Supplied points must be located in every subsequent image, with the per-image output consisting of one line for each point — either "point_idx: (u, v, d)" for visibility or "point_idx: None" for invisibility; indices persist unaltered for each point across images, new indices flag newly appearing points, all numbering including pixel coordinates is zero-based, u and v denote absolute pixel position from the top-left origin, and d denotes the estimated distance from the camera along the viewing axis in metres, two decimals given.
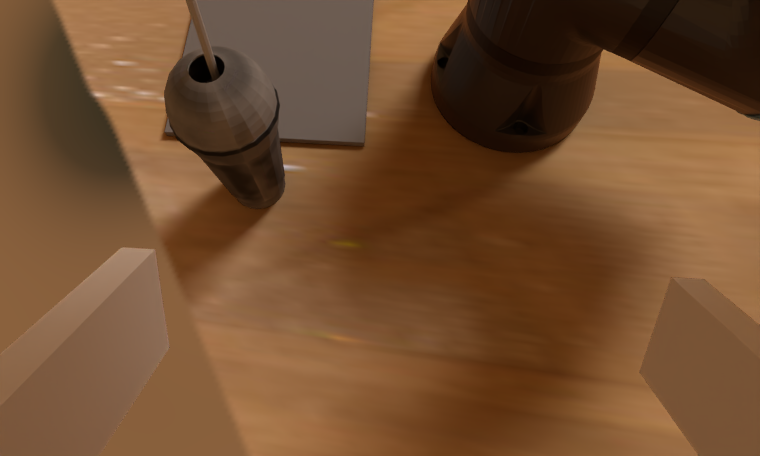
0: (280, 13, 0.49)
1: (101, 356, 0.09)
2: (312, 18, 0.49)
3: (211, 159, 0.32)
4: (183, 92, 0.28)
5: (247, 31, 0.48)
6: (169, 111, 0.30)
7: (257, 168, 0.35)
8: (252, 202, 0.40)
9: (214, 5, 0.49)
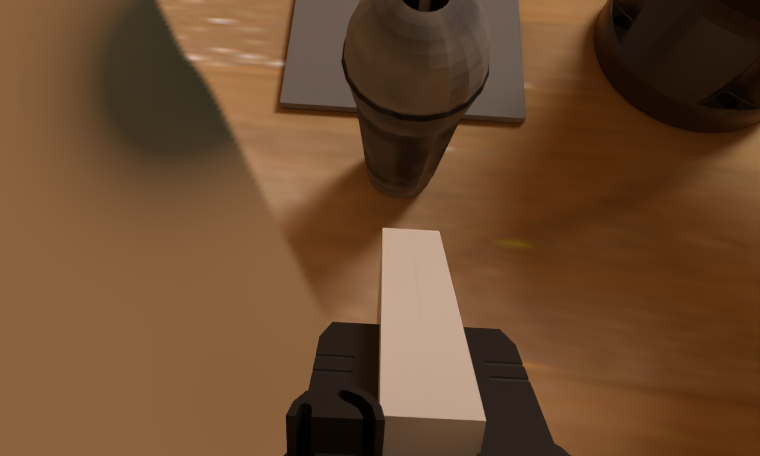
0: None
1: None
2: None
3: (400, 127, 0.23)
4: (393, 26, 0.20)
5: None
6: (361, 56, 0.21)
7: (438, 143, 0.27)
8: (401, 189, 0.32)
9: None
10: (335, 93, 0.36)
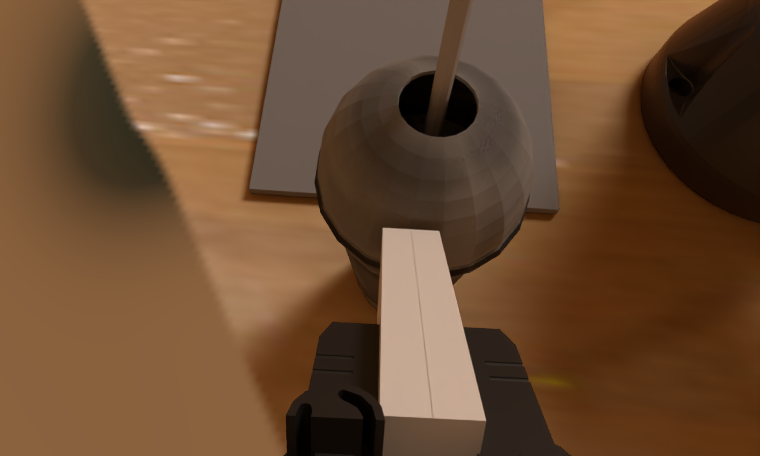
0: (409, 7, 0.33)
1: None
2: None
3: None
4: (388, 156, 0.13)
5: (363, 33, 0.32)
6: (340, 191, 0.14)
7: (453, 279, 0.19)
8: None
9: None
10: None
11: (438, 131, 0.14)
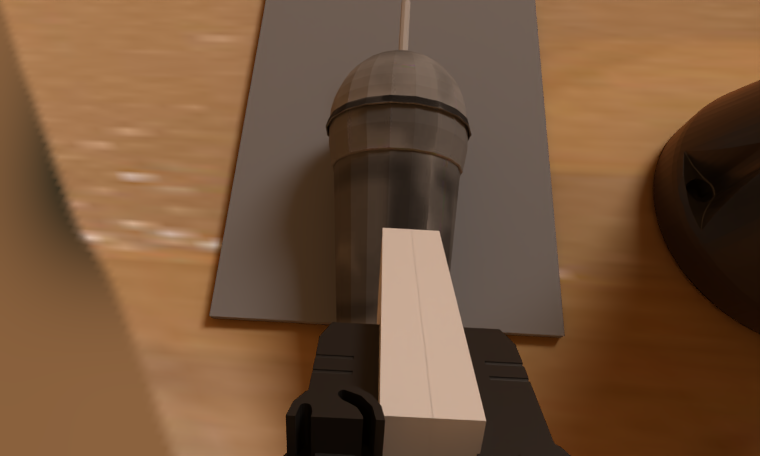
0: None
1: None
2: None
3: (390, 123, 0.21)
4: None
5: None
6: (350, 76, 0.23)
7: (437, 199, 0.21)
8: None
9: (284, 75, 0.30)
10: (290, 298, 0.25)
11: None
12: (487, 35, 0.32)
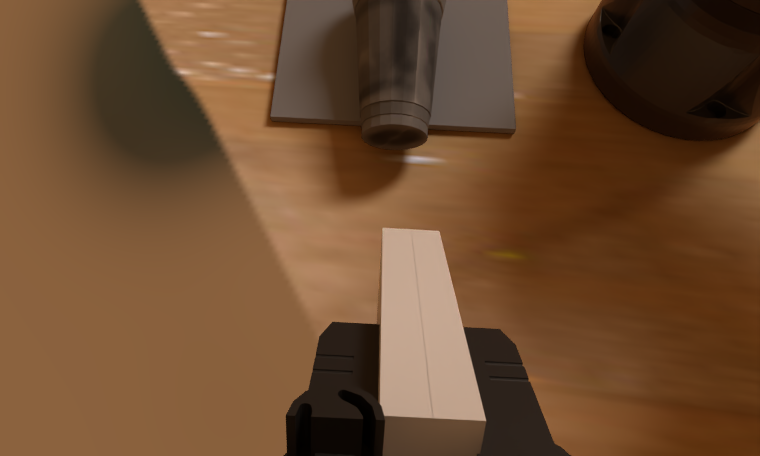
0: None
1: None
2: None
3: None
4: None
5: None
6: None
7: (426, 19, 0.32)
8: (399, 98, 0.31)
9: None
10: (325, 106, 0.36)
11: None
12: None
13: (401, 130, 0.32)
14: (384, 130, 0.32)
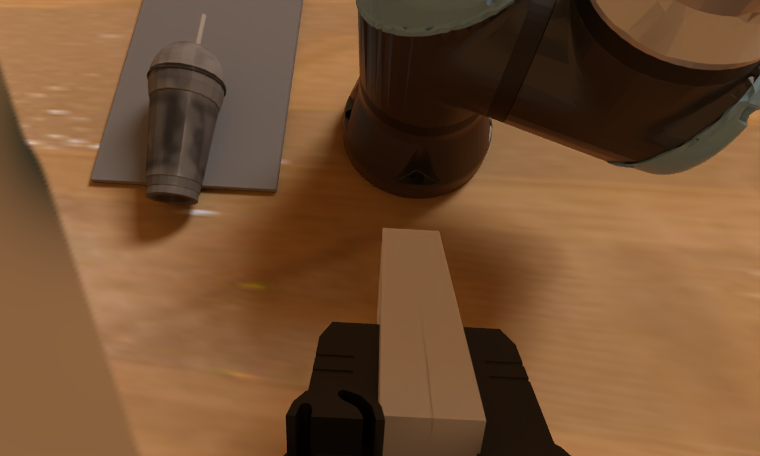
0: None
1: None
2: (236, 69, 0.53)
3: (167, 76, 0.44)
4: None
5: None
6: None
7: (192, 113, 0.44)
8: (165, 173, 0.43)
9: (144, 56, 0.53)
10: (134, 171, 0.48)
11: None
12: (267, 33, 0.54)
13: (170, 195, 0.44)
14: (159, 194, 0.44)
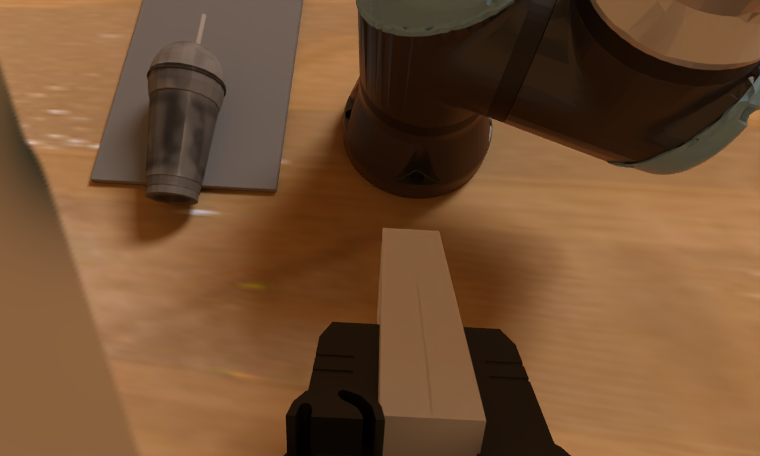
0: None
1: None
2: (236, 68, 0.53)
3: (167, 75, 0.44)
4: None
5: None
6: None
7: (192, 113, 0.44)
8: (165, 172, 0.43)
9: (145, 56, 0.53)
10: (134, 171, 0.48)
11: None
12: (267, 33, 0.54)
13: (170, 195, 0.44)
14: (159, 194, 0.44)
